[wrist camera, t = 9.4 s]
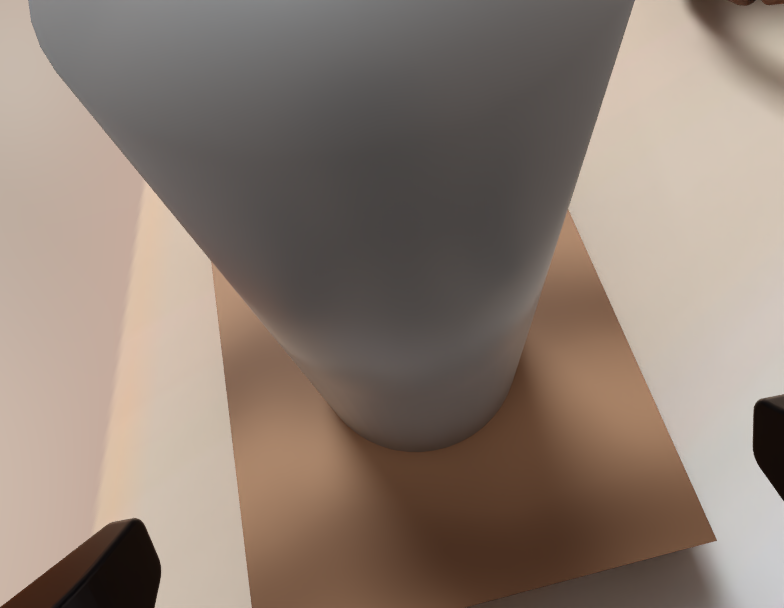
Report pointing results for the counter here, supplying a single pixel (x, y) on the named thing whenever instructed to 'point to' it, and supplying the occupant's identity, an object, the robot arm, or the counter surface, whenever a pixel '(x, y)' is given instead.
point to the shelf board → (458, 470)
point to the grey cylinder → (360, 173)
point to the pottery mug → (749, 0)
